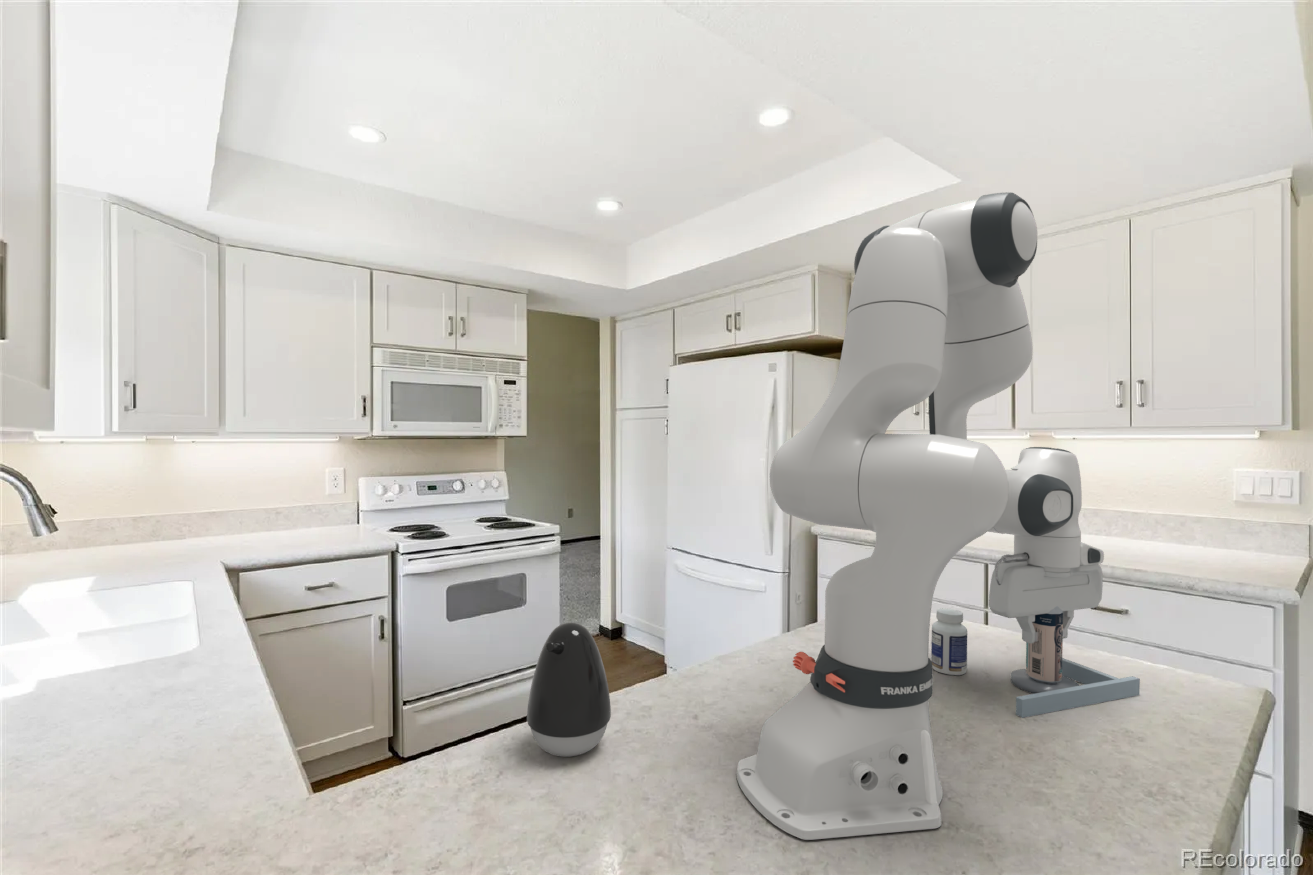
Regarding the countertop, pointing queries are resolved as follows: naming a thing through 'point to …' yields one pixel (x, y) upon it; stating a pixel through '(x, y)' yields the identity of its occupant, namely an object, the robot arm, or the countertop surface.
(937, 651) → the pill bottle
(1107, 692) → the divider wall
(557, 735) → the black egg-shaped tumbler
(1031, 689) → the coaster
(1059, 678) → the beer can
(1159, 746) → the countertop surface
